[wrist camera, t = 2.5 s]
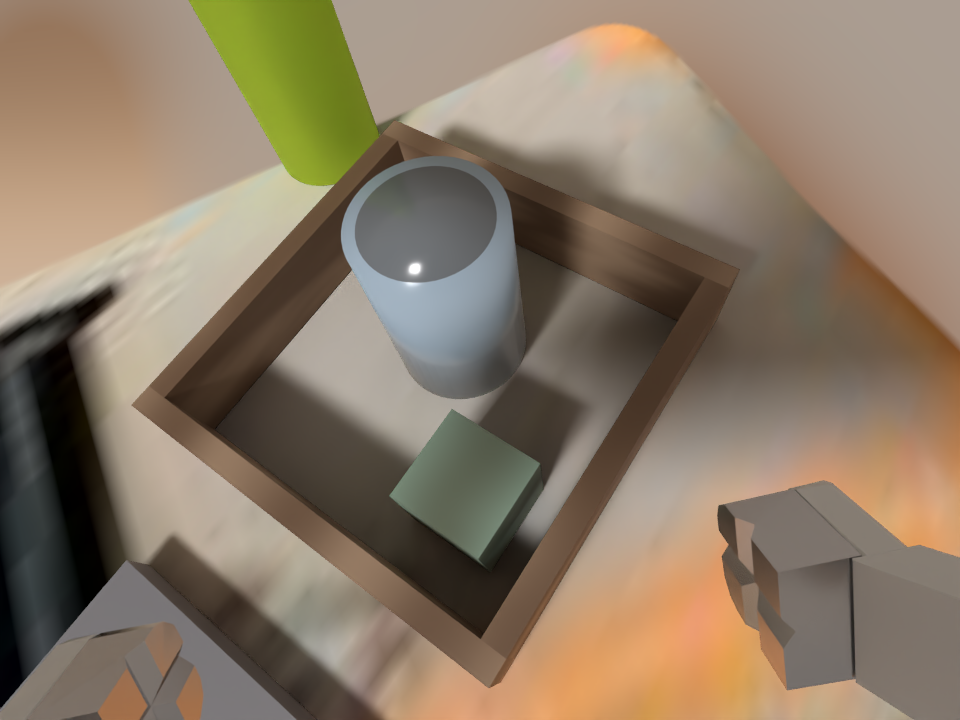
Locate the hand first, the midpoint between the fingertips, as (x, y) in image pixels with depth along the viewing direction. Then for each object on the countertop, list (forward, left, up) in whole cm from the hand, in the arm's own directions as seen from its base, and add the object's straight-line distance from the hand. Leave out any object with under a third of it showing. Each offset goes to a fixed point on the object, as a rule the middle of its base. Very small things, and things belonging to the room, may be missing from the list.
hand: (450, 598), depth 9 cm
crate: (-9, +7, -16) cm, 20 cm away
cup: (-9, +9, -16) cm, 21 cm away
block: (-4, +3, -16) cm, 17 cm away
